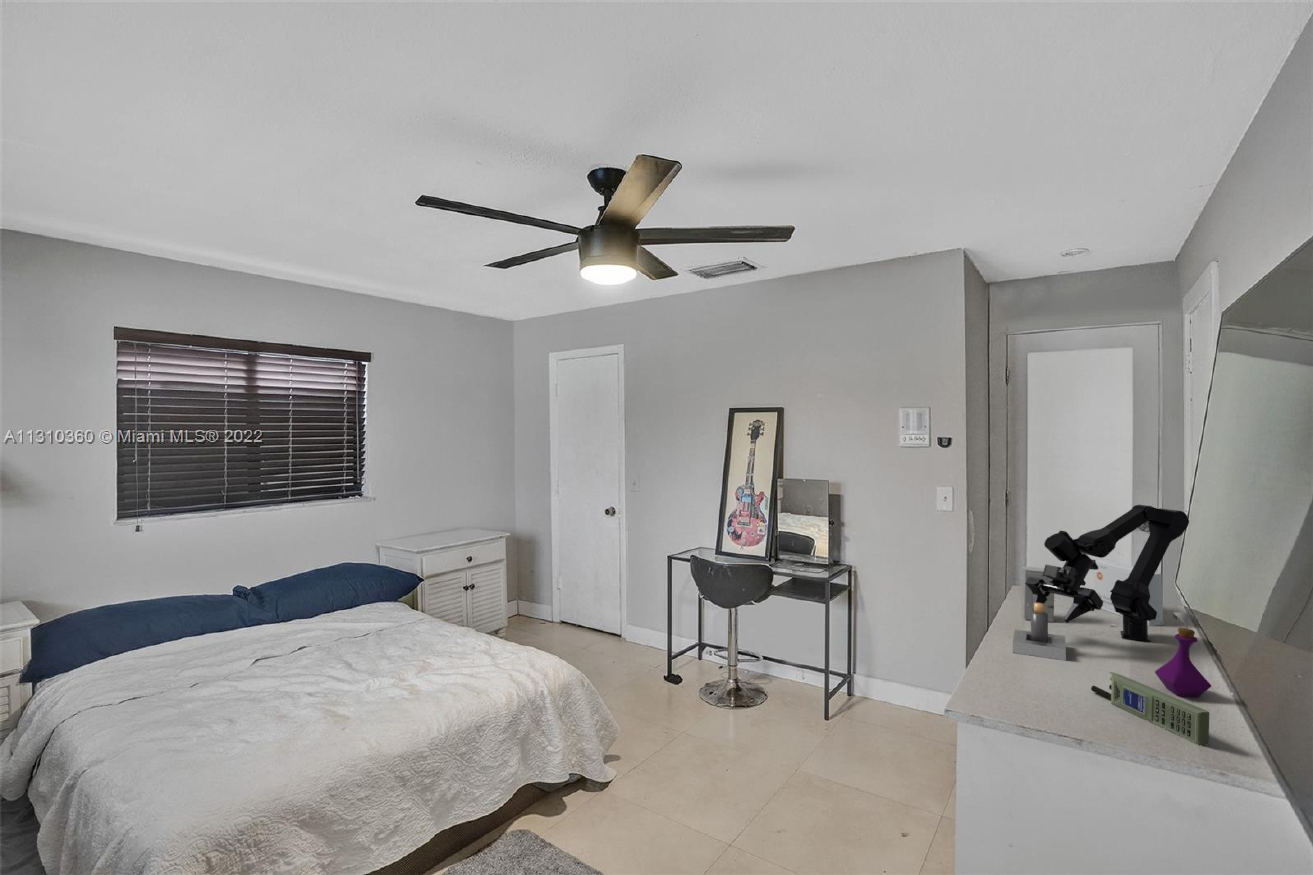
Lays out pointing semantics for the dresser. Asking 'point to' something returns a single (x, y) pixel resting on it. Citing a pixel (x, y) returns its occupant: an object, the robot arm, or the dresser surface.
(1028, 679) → the dresser surface
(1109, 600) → the skincare box
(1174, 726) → the handheld radio
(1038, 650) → the socket plate
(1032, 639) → the plug
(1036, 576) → the skincare box
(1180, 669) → the perfume bottle
